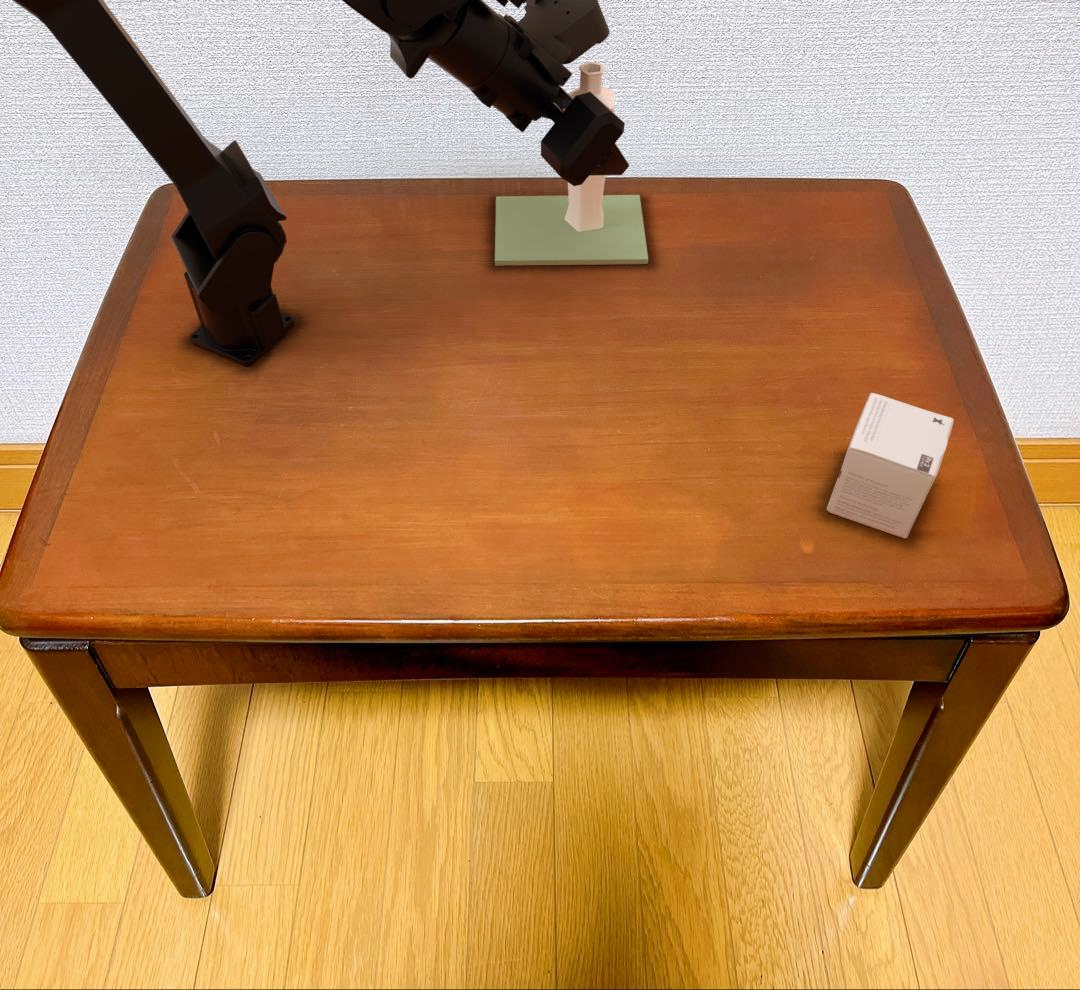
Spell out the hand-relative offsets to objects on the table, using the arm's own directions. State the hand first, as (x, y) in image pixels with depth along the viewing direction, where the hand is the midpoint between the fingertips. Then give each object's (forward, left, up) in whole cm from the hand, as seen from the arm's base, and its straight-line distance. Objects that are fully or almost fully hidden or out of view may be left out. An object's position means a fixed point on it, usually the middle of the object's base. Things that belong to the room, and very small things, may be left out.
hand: (598, 143), depth 90 cm
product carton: (+34, -21, -8) cm, 40 cm away
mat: (-1, -3, -8) cm, 9 cm away
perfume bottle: (0, -1, -8) cm, 8 cm away
